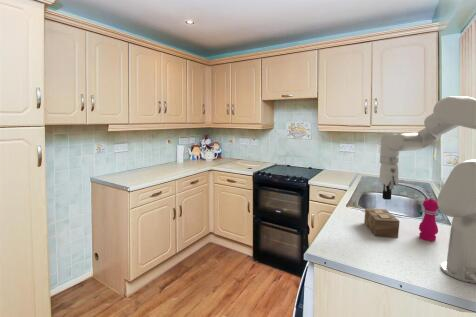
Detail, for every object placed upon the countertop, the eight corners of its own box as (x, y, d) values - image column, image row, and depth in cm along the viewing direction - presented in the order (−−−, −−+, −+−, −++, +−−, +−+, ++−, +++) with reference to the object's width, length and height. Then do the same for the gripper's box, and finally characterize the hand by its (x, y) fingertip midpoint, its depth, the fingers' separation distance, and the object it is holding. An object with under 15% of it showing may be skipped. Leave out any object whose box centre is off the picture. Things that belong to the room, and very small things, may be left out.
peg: (388, 234, 129) (390, 217, 128) (380, 233, 130) (381, 217, 128) (385, 230, 133) (386, 214, 132) (377, 230, 133) (378, 214, 132)
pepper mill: (440, 242, 121) (445, 198, 118) (422, 241, 123) (426, 198, 120) (432, 235, 128) (436, 194, 125) (415, 234, 130) (419, 193, 127)
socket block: (398, 237, 126) (399, 220, 125) (375, 236, 128) (376, 219, 126) (384, 224, 142) (385, 208, 141) (364, 223, 143) (365, 208, 142)
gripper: (405, 162, 118) (402, 203, 120) (390, 158, 133) (388, 195, 135) (386, 162, 119) (384, 203, 121) (374, 158, 134) (372, 194, 136)
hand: (386, 198), depth 128 cm, fingers closed
